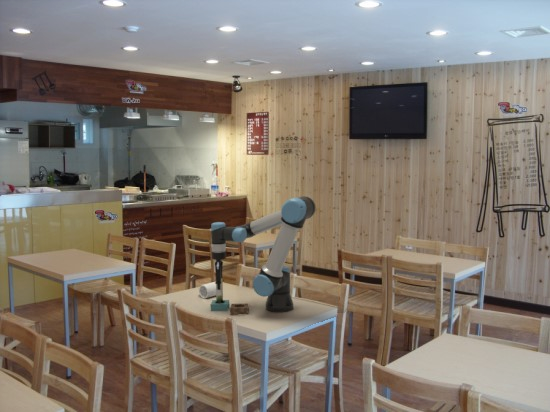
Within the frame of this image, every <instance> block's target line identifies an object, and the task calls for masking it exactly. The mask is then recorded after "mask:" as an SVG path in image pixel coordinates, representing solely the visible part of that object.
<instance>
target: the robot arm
mask: <svg viewBox="0 0 550 412" xmlns="http://www.w3.org/2000/svg"><path fill="white" fill-rule="evenodd" d="M316 210H317V207H316V203H315V201H314V199H312V198H311V197H309V196H299V197H292V198H290V199H288V200H286V201H285V202H284V203H283V205H282V206H281V209H280V210H277V211H275V212H273V213H270V214H267V215H265V216H262V217H260V218H258V219H255V220H252V221H251V222H247V223H246V224H242V225H238V226H235V227H234V226H226V223H225V222H223V221H222V222H221V221H217V222H213V223H211V224H210V225H211V227H210V233H211V234H210V237H211V244H210V247H211V259H212V260H215V262H214V267H215V282H216V283H215V284H216V292H217V296H222V283H221V278H223V269H224V268H223V265H224V262H223V260H225V259H227V252H226V251H227V247H226V246H227V244H226V242H232V243H233V242H234V243H243V242H245V240H246V239H250V238H252V237H255V236H256V235H260V234H261V233H264V232H267V231H271V230H272V229H275V228H277V227H280V228H279V230H278V234H276V235H277V236H276V239H275V241H274V243H273V246H272V248H271V251H270V254H269V255H268V259H267V260H266V263H265V264H263V265H261V266H260V267H261V268H260V270H259V273H258V274H257V275H255V277H253V280H252V283H251V284H252V289H254V292H255V293H256V294H257V295H258V296H260V297H263V298H264V297H266V301H265V305H264V307H265V310H266V311H269V312H275V313H278V312H279V313H283V312H290V311H292V310H294V307H295V306H294V305H295V304H294V301H293V298H292V295H291V271H290V267H289V266H287V265H285V263H286V260H287V259H288V256H289V253H290V251H291V248H292V246H293V244H294V241H295V239H296V236H297V234H298V232H299V230H301V229H303V227H304V225H305V222H306V221H307V220H308V219H310V218H312V217H313V216H314V214H315V212H316ZM224 281H225V280H224V279H223V282H224Z"/></svg>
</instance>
